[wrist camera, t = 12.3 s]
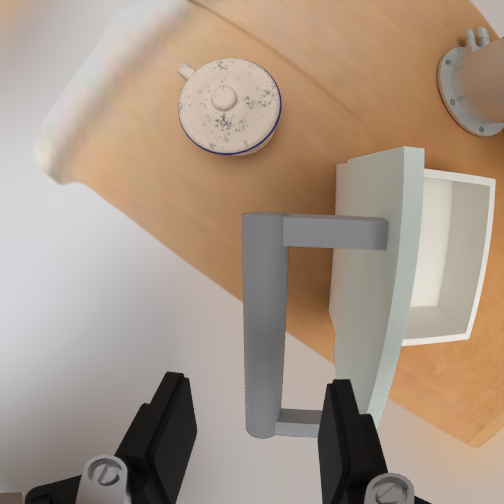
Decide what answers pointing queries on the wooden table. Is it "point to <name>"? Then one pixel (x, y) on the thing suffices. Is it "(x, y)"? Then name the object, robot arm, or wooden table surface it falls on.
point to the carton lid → (352, 288)
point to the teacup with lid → (229, 106)
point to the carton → (439, 255)
